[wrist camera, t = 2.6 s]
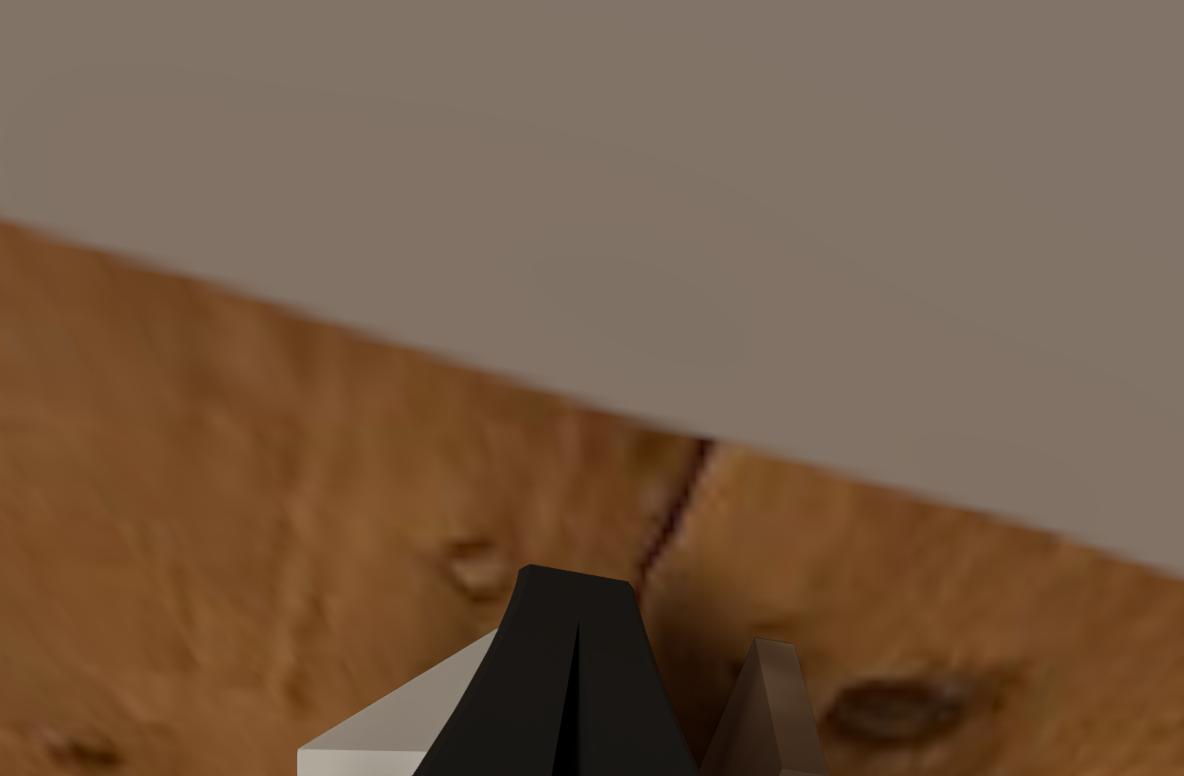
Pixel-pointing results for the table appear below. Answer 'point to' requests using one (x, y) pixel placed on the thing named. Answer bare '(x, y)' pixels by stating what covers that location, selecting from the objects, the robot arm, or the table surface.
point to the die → (395, 723)
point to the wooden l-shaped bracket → (767, 720)
